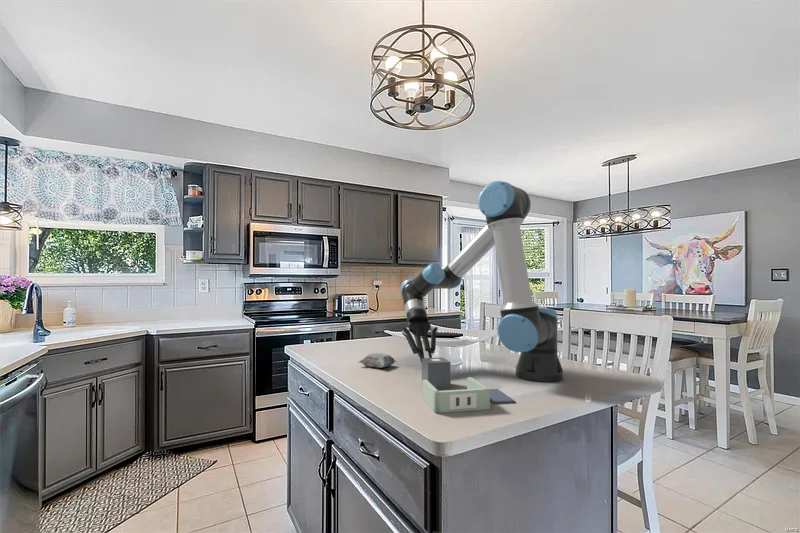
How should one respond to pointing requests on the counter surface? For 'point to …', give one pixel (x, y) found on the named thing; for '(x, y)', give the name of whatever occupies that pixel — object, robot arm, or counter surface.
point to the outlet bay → (457, 397)
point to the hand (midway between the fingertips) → (428, 370)
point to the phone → (499, 397)
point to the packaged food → (377, 360)
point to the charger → (436, 372)
